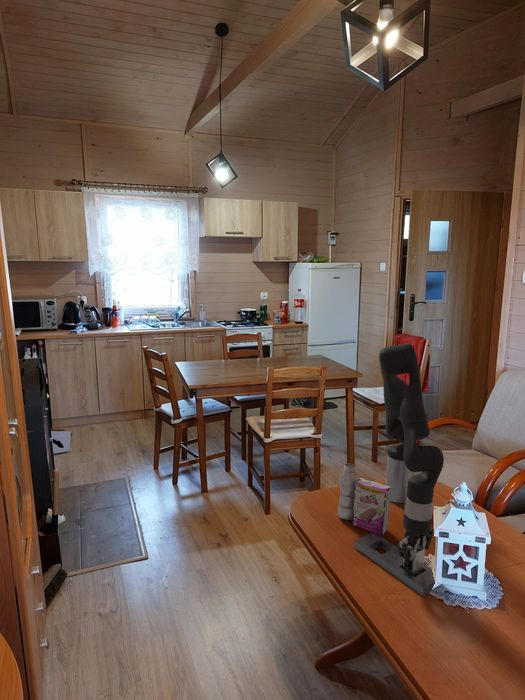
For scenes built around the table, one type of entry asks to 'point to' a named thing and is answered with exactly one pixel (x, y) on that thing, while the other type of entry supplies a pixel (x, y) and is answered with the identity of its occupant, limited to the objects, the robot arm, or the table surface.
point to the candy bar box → (371, 506)
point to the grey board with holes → (394, 562)
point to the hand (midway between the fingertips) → (412, 566)
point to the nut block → (416, 562)
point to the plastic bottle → (347, 492)
